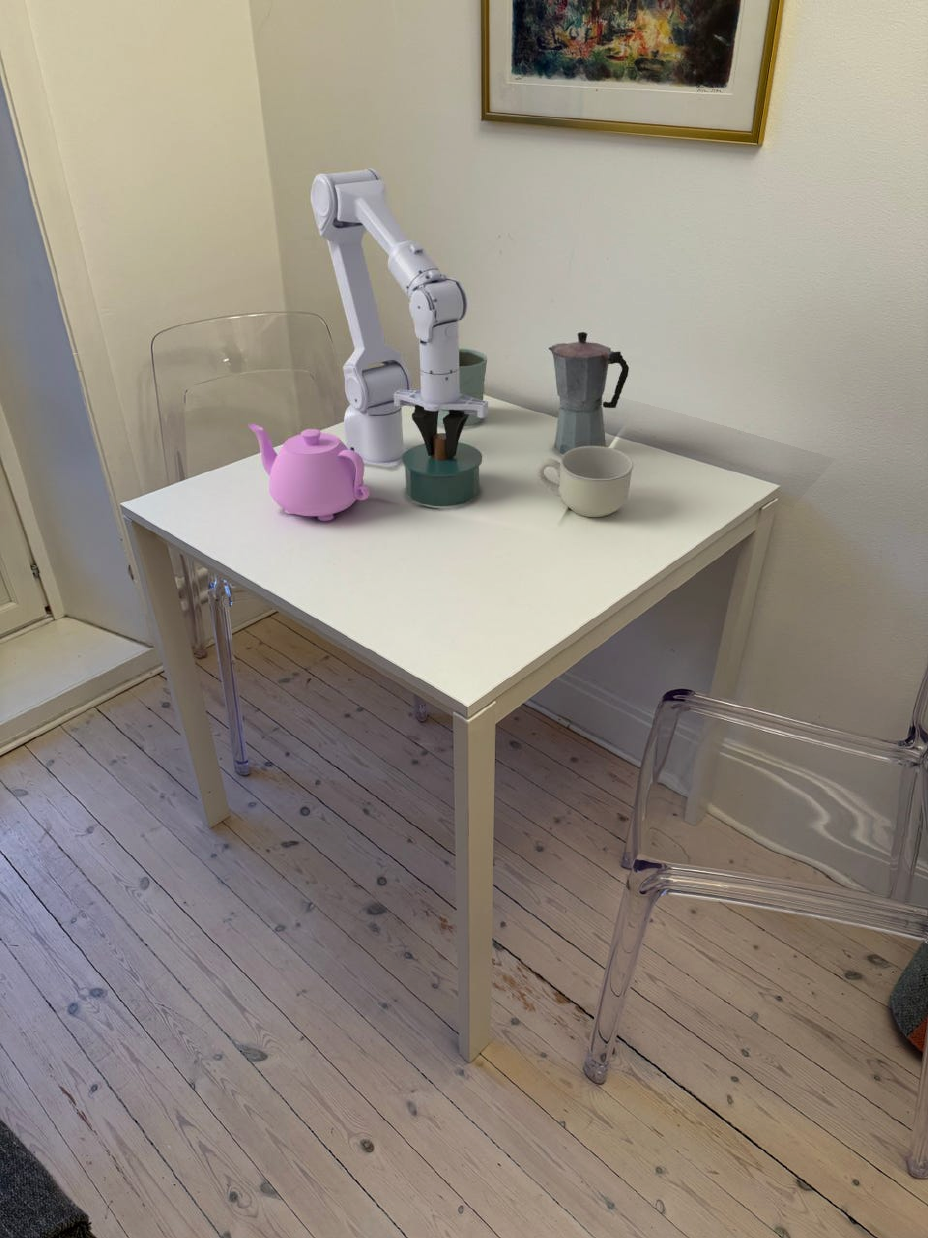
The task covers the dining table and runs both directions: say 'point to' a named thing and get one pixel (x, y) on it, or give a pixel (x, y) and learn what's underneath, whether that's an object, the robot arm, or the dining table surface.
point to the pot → (442, 488)
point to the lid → (441, 459)
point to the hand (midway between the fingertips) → (441, 455)
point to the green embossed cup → (470, 379)
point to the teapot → (312, 473)
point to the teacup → (591, 479)
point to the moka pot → (583, 391)
